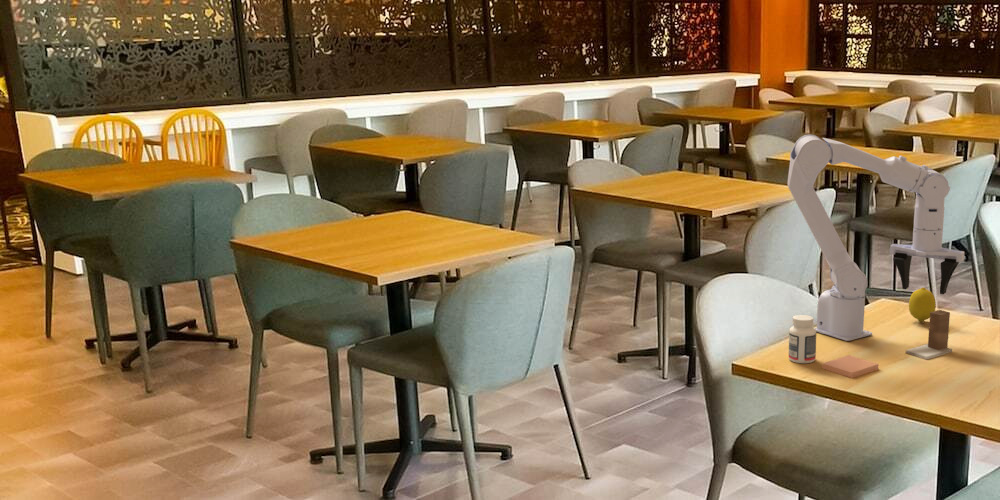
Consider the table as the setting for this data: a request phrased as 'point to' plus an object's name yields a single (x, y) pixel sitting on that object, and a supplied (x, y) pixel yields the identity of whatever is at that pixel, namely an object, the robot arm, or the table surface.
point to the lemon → (922, 304)
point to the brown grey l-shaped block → (935, 337)
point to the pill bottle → (802, 340)
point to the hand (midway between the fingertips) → (924, 290)
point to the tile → (850, 366)
